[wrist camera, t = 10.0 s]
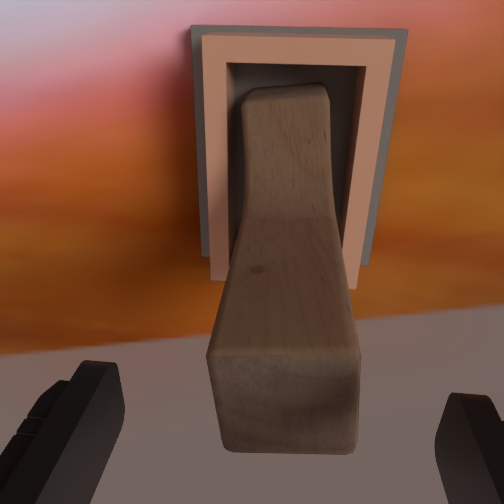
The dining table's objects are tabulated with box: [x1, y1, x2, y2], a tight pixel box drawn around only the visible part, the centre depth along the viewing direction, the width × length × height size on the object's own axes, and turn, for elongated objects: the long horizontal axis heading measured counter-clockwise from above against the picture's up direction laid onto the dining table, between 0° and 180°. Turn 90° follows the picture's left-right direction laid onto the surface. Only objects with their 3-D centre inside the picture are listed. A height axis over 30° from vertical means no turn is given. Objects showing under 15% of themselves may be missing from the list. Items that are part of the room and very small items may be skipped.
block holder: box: [190, 25, 408, 289], centre depth 27 cm, size 12×15×4 cm
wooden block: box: [206, 82, 361, 455], centre depth 20 cm, size 9×4×18 cm, turn 5°
